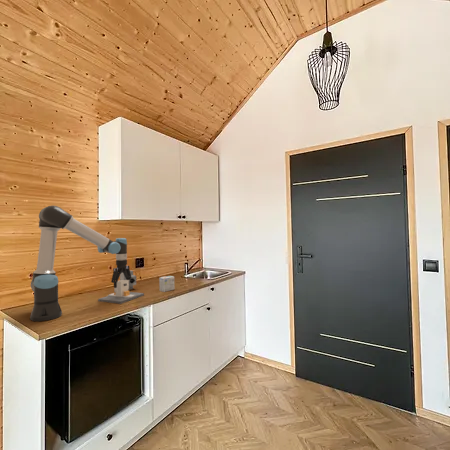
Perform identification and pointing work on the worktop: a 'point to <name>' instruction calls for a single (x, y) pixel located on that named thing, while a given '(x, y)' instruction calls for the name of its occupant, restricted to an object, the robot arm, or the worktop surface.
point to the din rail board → (121, 297)
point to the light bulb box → (166, 283)
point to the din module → (122, 287)
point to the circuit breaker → (131, 281)
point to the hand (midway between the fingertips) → (121, 290)
